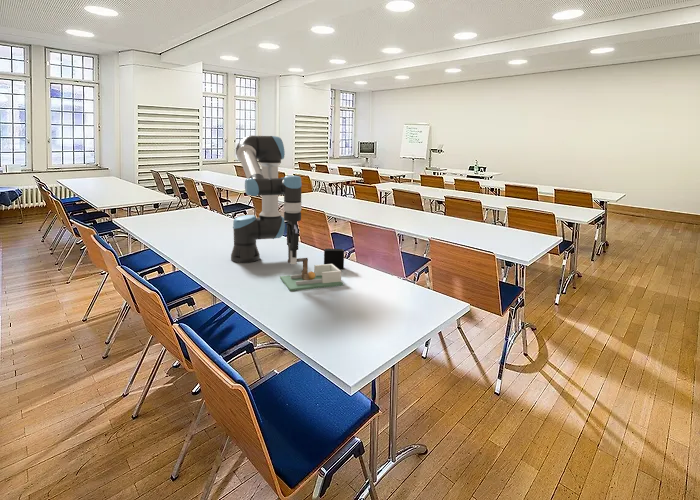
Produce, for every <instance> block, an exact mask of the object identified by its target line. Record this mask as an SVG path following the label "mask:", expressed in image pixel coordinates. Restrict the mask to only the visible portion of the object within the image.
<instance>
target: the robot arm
mask: <svg viewBox="0 0 700 500" xmlns="http://www.w3.org/2000/svg"><path fill="white" fill-rule="evenodd" d="M285 152H286V151H285V145H284V142H283V140H282V138H281V137H279V136H275V135H248V136H244V137H243V138H242V139H240V141H238V143H237V145H236V148H235V155H236V157H237V160H238V161H240V163H241V166H242V169H243V172H244V174H245V177H246V178H245V180H244V191H245V192H244V193H245V194H246V195H247V196H253V197H257V196H261V211H260V213H259V214H258V215H259V216H258V217H257V216H256V215H254V214H246V215H241V216H237V217H235V218H234V219H233V220H232V221H233V223H232V224H233V226H232V229H233V231H232V232H233V247H232V251H231V254H230V260H231V261H232V262H234V263H244V264H245V263H247V264H248V263H254V262H257V261H260V259H261V258H260V257H261V256H260V255H261V254H260V251H259V248H258V246H257V241H258V240H274V239H280V238H281V237H282V236H284V234H285V233H284V232H285V228H286V245H287V246H288V243H291V249H290V263H289V264H290V265H297V264H298V262H297V259H298V257H297V256H298V253H297V252H298V250H299V239H300V238H299V235H300V228H299V225H298V222H300V221H302V212H301V211H302V186H303V183H302V177H301V176H300V175H285V176H284V177H279V165H280V164H281V163H282V160H284V159H285ZM279 196H283V204H282V207H283V211H284V212H283V216H282V214H281V212H280V211H279ZM285 221H286V222H287V223H286V224H285ZM285 226H286V227H285Z"/></svg>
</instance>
